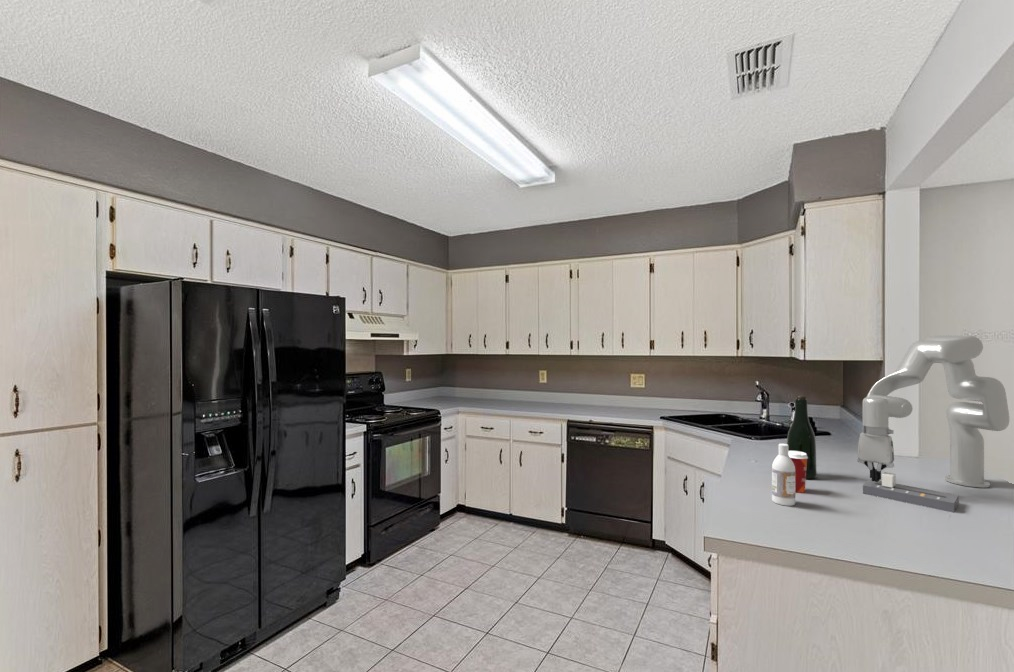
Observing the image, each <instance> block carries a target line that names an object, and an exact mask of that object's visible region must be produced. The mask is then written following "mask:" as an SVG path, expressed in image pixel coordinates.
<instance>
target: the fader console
mask: <svg viewBox="0 0 1014 672" xmlns="http://www.w3.org/2000/svg"><path fill="white" fill-rule="evenodd" d="M862 494H864V495H867V496H873V497H877V496H878V498H882V497H883V498H882V499H887V498H888V500H892V499H893V500H892V501H897V502H901V501H902V503H906V502H907V504H910V505H911V504H913V505H917V506H921V505H922V506H921V507H925V506H926V508H931V509H936V510H941V511H945V512H949V513H950V512H951V513H955V512H956V509H957V508H958V506H959V504H960V501H959V500H960V499H959V498H960V497H959V494H954V493H949V492H944V491H938V490H933V489H926V488H922V487H918V486H917V487H916V486H911V485H906V484H900V483H896V485H895V486H894V487H893V488H891V487H886V486H882V480H879V481H878V482H875V481H872V478H870V479H869V480H868V481H866V482H865V483H864V484H862Z"/></svg>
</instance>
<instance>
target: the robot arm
mask: <svg viewBox="0 0 1014 672" xmlns="http://www.w3.org/2000/svg"><path fill="white" fill-rule="evenodd" d="M983 350H984V345H983V342H982V340H980V338H978V337H977V336H974V335H932V336H928V337H926V338H925V339H924V340H917V341H915V342H912V343H911V345H910V346H909V347H908V349H907V351H906V353H905V354H904V356H903V358H902V360H901V362H900V363H899V365H897V368H896V370H895V371H893V372H891V373H889V374H887V375H885V376H884V377H883V378H881V379H879V380H878V381H876V382H875V383H874V384H873V385H872V386H871V388H870V390H869V391H868V393H867V395H866V396H865V397H864V398H863V399H862V432H860V434H859V438H858V445H857V462H858V463H860V464H863V465H865V467H867V468H868V469H869V478H870V479H872V481H875V482H878V481H879V480H880V481H882V471H883V470H884V469H885V468H886V469H891V468H894V467H895V463H894V461H895V451H894V441H893V437H892V436H891V434H892V435H894V432H895V431H894V430H893V429H890V427H889V418H896V419H903V418H907V417H909V416H910V415H911V414H912V413H913V404H912V403H911V402H910V401H909V400H908V399H906V398H903V397H897V396H891V395H890V394H891V393H893V392H895V391H897V390H899V389H900V390H901V389H903V388H907V387H913V386H915V385H918V384H920V383H922V382H923V381H924V379H925V378H926V376H927V374H928V372H929V371H930V370H931V367H932V366H933V364H942V366H943V369H944V375H945V382H946V388H947V391H948V394H949V396H950V397H952V398H953V399H956V400H963V401H956V402H953V403H951V404H949V405H948V406H947V407H946V410H945V411H946V412H945V413H946V418H947V422H948V428H949V475H945V476H944V480H945V481H946V482H949V483H952V484H955V485H960V486H963V487H964V486H965V487H969V488H970V487H972V488H985V489H986V488H989V487H991V484H990V482H989V481H987V480H985V439H984V437H983V434H982V433H981V431H980V430H985V431H992V432H993V431H994V432H1001V431H1004V430H1006V429H1007V428H1008V427H1009V425H1010V411H1009V406H1008V399H1007V393H1006V388H1005V386H1004V384H1003V383H1002V382H1001V381H1000V380H999V379H997V378H995V377H990V376H978V375H977V373H976V370H975V365H974V363H973V359H975V358H977V357H978V356H980V355H981V353H982V352H983ZM967 401H972V402H967ZM976 402H980V403H976ZM874 463H876V465H877V466H876V467H875V465H874Z"/></svg>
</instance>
